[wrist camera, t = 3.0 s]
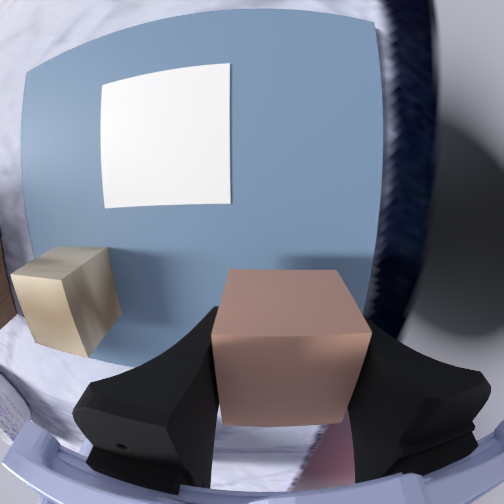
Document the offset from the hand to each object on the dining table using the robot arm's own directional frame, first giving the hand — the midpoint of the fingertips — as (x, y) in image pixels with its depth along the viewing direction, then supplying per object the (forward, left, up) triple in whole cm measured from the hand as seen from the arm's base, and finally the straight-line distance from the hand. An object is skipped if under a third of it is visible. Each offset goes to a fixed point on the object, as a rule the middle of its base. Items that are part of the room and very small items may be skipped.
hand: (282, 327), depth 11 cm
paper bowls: (-22, +40, -4) cm, 46 cm away
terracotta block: (0, 0, -1) cm, 1 cm away
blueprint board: (+4, +6, -4) cm, 8 cm away
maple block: (0, +12, -4) cm, 12 cm away
